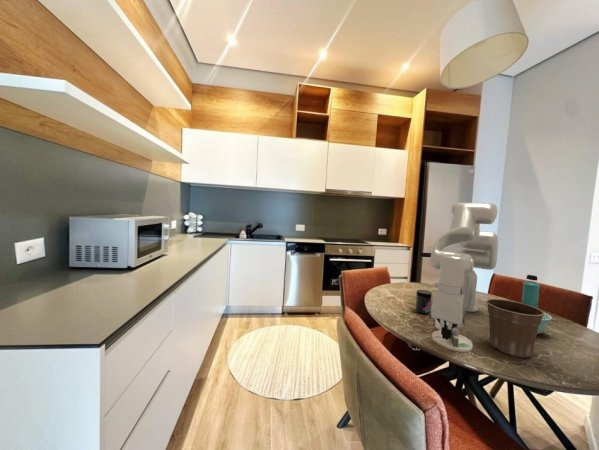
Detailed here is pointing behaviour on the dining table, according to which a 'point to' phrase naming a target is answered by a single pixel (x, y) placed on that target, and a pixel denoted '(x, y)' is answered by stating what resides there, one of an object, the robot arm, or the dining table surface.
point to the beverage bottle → (530, 292)
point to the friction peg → (455, 337)
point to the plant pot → (513, 326)
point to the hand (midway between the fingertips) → (446, 337)
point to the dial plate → (463, 342)
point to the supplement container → (423, 302)
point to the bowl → (544, 323)
